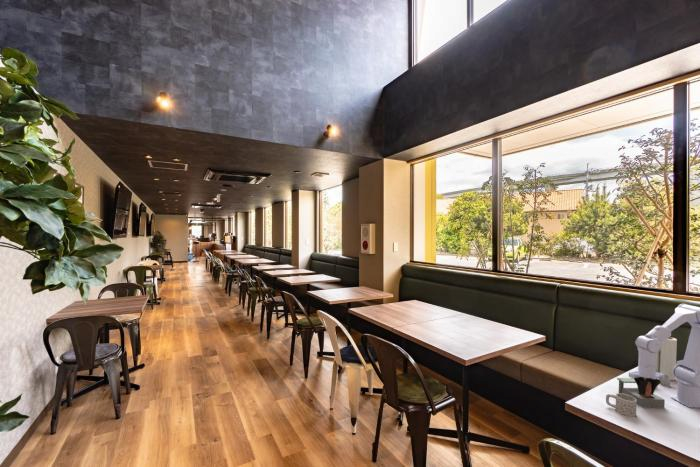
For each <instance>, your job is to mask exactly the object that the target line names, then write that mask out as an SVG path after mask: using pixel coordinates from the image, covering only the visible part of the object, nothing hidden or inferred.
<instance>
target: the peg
mask: <svg viewBox="0 0 700 467" xmlns="http://www.w3.org/2000/svg"><path fill="white" fill-rule="evenodd" d="M651 385H652V383H651V382H648V384H647V386H646V392H645V395H643V394H641V396H643V397H645V398H651Z"/></svg>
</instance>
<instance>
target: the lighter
mask: <svg viewBox="0 0 700 467" xmlns="http://www.w3.org/2000/svg"><path fill="white" fill-rule="evenodd" d="M656 372H657V373H658V371H657V370H656ZM664 375H665V379H661V378H658V380H660V381H661V383H660V384H659V385H661V386H666V387H669V388H670V387H671V380H670V377H668V375H666V374H664Z"/></svg>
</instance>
